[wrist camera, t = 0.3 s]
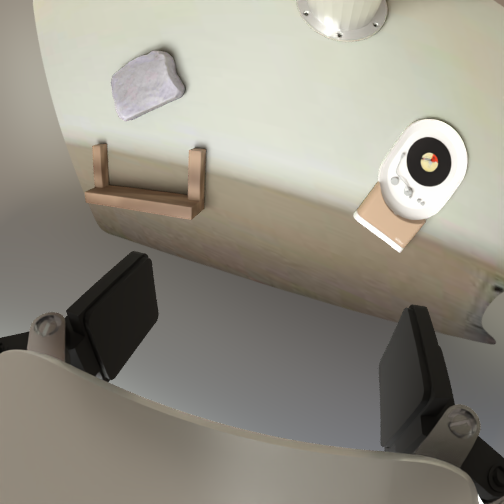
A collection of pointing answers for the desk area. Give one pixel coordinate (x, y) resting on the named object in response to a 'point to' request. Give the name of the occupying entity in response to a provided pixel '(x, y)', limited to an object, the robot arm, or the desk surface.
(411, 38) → the desk surface
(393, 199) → the record player
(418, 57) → the desk surface
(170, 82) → the stone block
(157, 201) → the walnut frame
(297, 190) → the desk surface
